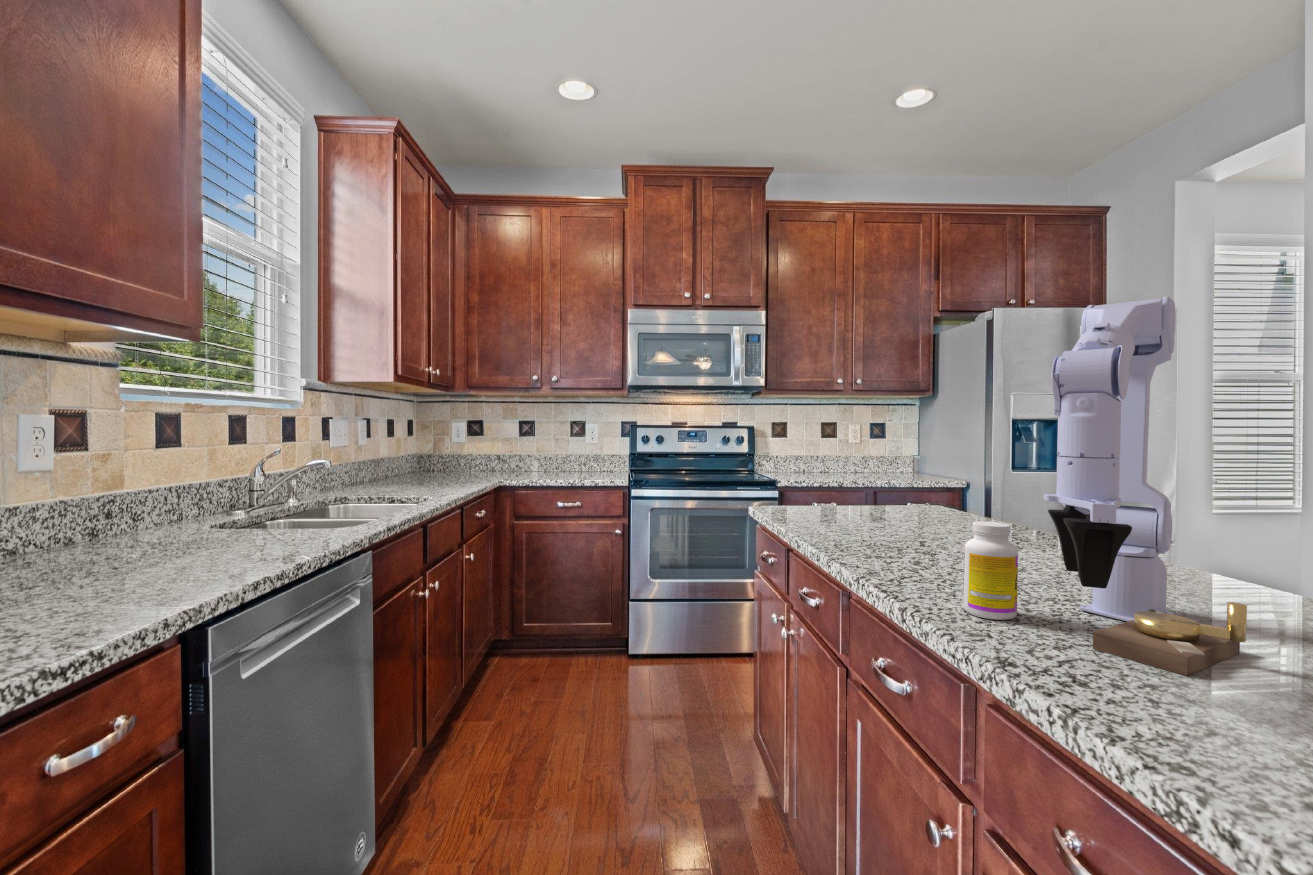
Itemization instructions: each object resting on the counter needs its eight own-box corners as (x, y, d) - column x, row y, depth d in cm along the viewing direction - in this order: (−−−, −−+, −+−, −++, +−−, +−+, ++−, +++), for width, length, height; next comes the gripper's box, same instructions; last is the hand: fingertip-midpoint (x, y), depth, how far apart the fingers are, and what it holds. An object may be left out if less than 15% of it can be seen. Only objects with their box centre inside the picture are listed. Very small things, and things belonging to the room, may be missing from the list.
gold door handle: (1132, 632, 72) (1133, 594, 71) (1135, 620, 76) (1136, 584, 76) (1248, 653, 65) (1249, 611, 65) (1243, 638, 70) (1244, 599, 70)
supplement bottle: (1024, 623, 82) (1026, 528, 81) (971, 619, 83) (973, 526, 83) (1006, 608, 88) (1008, 521, 88) (957, 605, 90) (959, 519, 89)
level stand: (1148, 630, 79) (1149, 603, 79) (1246, 655, 71) (1247, 624, 71) (1092, 648, 72) (1093, 618, 72) (1194, 678, 64) (1195, 644, 64)
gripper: (1034, 453, 75) (1032, 561, 76) (1058, 459, 62) (1055, 590, 62) (1103, 455, 73) (1100, 567, 73) (1143, 461, 59) (1139, 598, 60)
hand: (1084, 578), depth 67 cm, fingers open, 7 cm apart
